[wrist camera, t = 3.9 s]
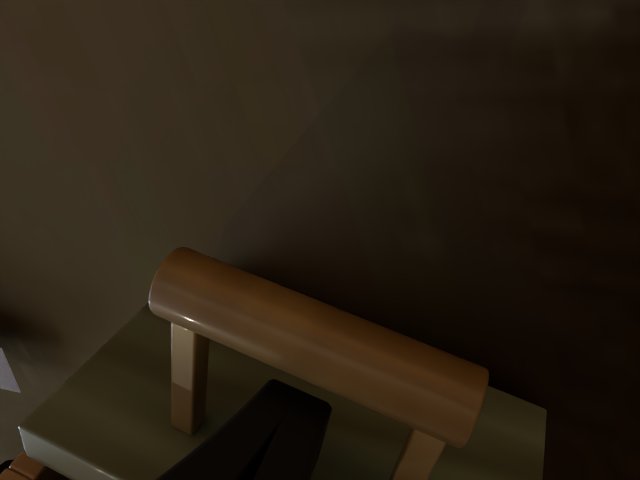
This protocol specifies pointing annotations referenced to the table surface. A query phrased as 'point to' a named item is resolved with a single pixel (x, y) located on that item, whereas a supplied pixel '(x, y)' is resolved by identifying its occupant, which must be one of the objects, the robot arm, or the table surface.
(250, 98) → the table surface
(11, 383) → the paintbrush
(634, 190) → the table surface
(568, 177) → the table surface
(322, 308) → the drawer
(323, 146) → the table surface
